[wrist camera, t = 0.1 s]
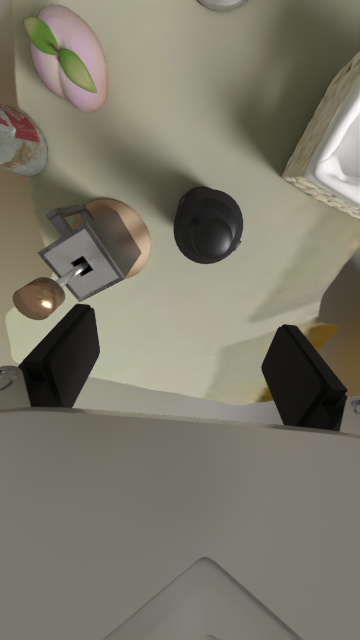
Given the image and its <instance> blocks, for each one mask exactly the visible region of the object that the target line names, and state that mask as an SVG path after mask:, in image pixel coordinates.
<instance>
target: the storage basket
mask: <svg viewBox="0 0 360 640" xmlns="http://www.w3.org/2000/svg"><path fill="white" fill-rule="evenodd" d="M282 178H284V179H285V180H287V182H290V183H292V184H293V185H294V186H295V187H298V188H300V189H301V190H302V191H304V192H306V193H308V194H311V196H312V197H314V198H315V199H317V200H320V201H322V202H323V203H325V204H327V205H329V206H332V207H335V208H336V209H338V210H340V211H342V212H345V213H347V214H348V215H350V216H352V217H356V218H358V219H359V220H360V51H359V52H358V53H357V54H356V55H355V56H354V57H353V58H352V59H351V60H350V62H349V63H347V64H346V65H345V66H344V67H343V68H342V69H341V70H340V71H339V72H338V74H337V75H336V76H335V77H334V78H333V80H332V81H331V83H330V85H329V87H328V88H327V90H326V92H325V94H324V98H323V99H322V100H321V102H320V104H319V105H318V107H317V109H316V111H315V113H314V116H313V117H312V119H311V120H310V122H309V124H308V125H307V127H306V129H305V131H304V133H303V136H302V137H301V139H300V141H299V142H298V144H297V146H296V148H295V150H294V153H293V155H292V156H291V157H290V159H289V161H288V163H287V165H286V168H285V170H284V172H283V174H282Z"/></svg>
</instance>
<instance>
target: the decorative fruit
mask: <svg viewBox="0 0 360 640" xmlns="http://www.w3.org/2000/svg"><path fill="white" fill-rule="evenodd" d="M23 24H24V28H25V31H26V33H27V35H28V37H29V38H30V47H31V54H32V59H33V63H34V66H35V68H36V71H37V73H38V75H39V77H40V79H41V80H42V82H43V83H44V84H45V85H46V87H47V88H48V89H49V90H50V91H51V92H53V93H54V94H56V95H58V96H60V97H62V98H64V99H68V100H69V101H70V103H71V104H72V105H73V106H74V107H75V108H77V109H78V110H80V111H83V112H94V111H97V110H98V109H100V108H101V107H102V105H103V104H104V102H105V100H106V97H107V92H108V74H107V66H106V60H105V56H104V53H103V50H102V47H101V44H100V42H99V40H98V39H97V37H96V35H95V33H94V32H93V30H92V29H91V27H90V26H89V25H88V24H87V23H86V22H85V21H84V20H83V19H82V18H81V17H80V16H78V15H77V14H76V13H74V12H73V11H72V10H70V9H68V8H66V7H64V6H61V5H50V6H47V7H45V8H44V9H43V10H42V11H41V12H40V13H39V15H38V17H34V16H28V17H26V18H25V19H24V20H23Z"/></svg>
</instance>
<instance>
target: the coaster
mask: <svg viewBox="0 0 360 640" xmlns="http://www.w3.org/2000/svg"><path fill="white" fill-rule="evenodd" d="M86 208H87V209H88V211H89V212H90V214H91V215H92V217H93V219H96V218H98V217H101V216H104V215H107V214H110V213H112V212H115V211H117V212H118V214H119V216H120V217H121V219H122V221H123V222H124V224H125V226H126V227H127V229H128V231H129V232H130V234H131V236H132V237H133V239H134V241H135V242H136V244H137V246H138V248H139V249H140V251H141V255H140V256H139V258H138V259H137V261H136V262H135V264H134V265H133V267H132V268H131V270H130V271H129V273H128V274H127V276H126V277H125V279H126V278H130V277H132V276H134V275H136V274H137V273H139V272H140V271H141V270H142V269H143V267H144V266H145V264H146V263H147V261H148V258H149V255H150V250H151V242H150V236H149V232H148V229H147V227H146V225H145V223H144V222H143V220H142V219H141V217H140V216H139V215H138V214H137V213H136V212H135V211H134V210H133V209H132V208H130V207H129V206H127V205H126V204H124V203H121V202H119V201H116V200H110V199H102V200H96V201H93V202H91V203H89V204H87V205H86ZM83 223H84V221H83V220H82V218H81V217H80V215H79V214H78V215H77V217H76V219H75V222H74V228H73V230H74V229H75V228H77V227H78V226H80V225H82V224H83Z"/></svg>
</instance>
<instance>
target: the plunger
mask: <svg viewBox="0 0 360 640" xmlns="http://www.w3.org/2000/svg"><path fill="white" fill-rule="evenodd" d="M81 258H82V260H83V262H81V263H80V264H78V265H77V266H76V267H74V268H73V269H72V270H70V271H69V272H67V273H66V274H65V275H63V276H62V277H61V278H59V279H58V280H56V281H54V280H52V279H50V278H46V277H40V278H37V279H35V280H33V281H32V282H30V283H29V284H27V285H25V286H24V287H22V288H21V289H19V290H17V291H16V292H15V293H14V295H13V302H14V304H15V307H16V308H17V309H18V310H19V312H21V313H22V314H23V315H25V316H26V317H28V318H31V319H34V320H43V319H46V318H47V317H48V316H49V315H50V314H51V313H53V312H54V311H55V310H56V309H57V308H58V307H59V306H60V305H61V304H62V303H63V302H64V300H65V293H64V291H63V289H62V287H63V286H65V285H66V284H67V283H68V282H70V281H71V280H72V279H73V278H74V277H76V276H77V275H78V274H79V273H81V272H82V271H83V270H84V269H85V268H87V267H90V268H91V269H93V268H92V267H91V266H90V264H89V263H88V262H87V260H86V259H85V258H84V256H81Z"/></svg>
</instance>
